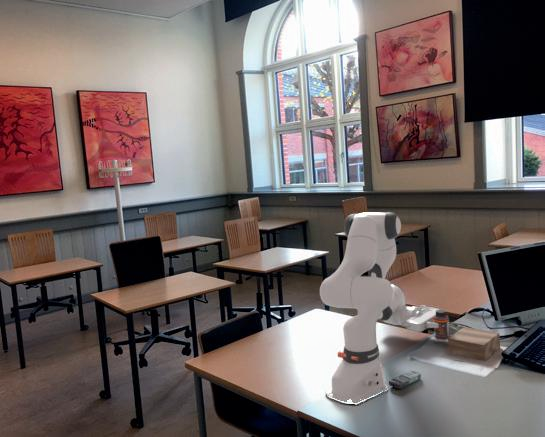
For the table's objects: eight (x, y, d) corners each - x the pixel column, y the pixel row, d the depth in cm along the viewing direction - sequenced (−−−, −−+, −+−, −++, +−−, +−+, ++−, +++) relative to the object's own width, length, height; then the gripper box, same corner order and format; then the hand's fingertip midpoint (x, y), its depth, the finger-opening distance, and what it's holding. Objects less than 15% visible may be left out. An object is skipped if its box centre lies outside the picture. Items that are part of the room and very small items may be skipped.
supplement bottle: (433, 339, 198) (431, 312, 197) (436, 334, 203) (434, 308, 202) (449, 340, 195) (447, 313, 194) (451, 335, 200) (449, 308, 199)
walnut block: (485, 360, 180) (483, 345, 180) (449, 352, 191) (447, 338, 190) (500, 347, 190) (499, 332, 189) (465, 341, 200) (464, 326, 199)
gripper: (398, 317, 201) (429, 322, 190) (424, 303, 214) (454, 308, 204) (400, 332, 201) (431, 338, 191) (425, 317, 215) (455, 322, 205)
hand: (443, 322), depth 198 cm, fingers closed on supplement bottle, 6 cm apart
